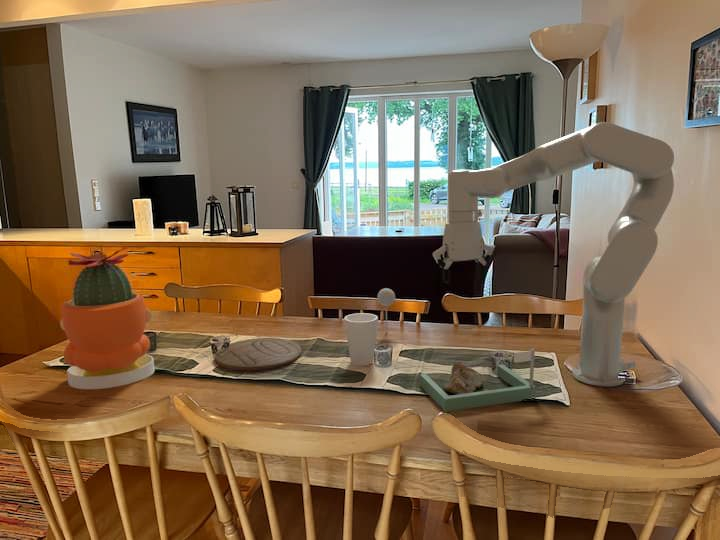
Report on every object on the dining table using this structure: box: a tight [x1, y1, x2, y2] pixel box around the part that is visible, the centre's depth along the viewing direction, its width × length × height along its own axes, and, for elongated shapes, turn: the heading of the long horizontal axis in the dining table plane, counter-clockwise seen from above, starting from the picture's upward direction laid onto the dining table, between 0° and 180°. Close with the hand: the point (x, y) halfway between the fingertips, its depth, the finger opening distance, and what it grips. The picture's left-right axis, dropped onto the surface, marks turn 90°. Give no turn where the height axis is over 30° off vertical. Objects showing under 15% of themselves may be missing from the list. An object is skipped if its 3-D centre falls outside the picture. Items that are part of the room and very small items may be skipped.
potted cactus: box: [59, 246, 155, 390], centre depth 143 cm, size 22×22×35 cm
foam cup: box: [343, 312, 379, 367], centre depth 154 cm, size 10×9×13 cm
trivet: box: [214, 337, 302, 373], centre depth 162 cm, size 25×25×2 cm
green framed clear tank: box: [419, 348, 537, 412], centre depth 132 cm, size 23×16×12 cm
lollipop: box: [376, 287, 396, 333], centre depth 180 cm, size 6×6×15 cm
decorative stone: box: [442, 361, 484, 395], centre depth 136 cm, size 10×4×15 cm
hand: (463, 281), depth 146 cm, fingers open, 9 cm apart
